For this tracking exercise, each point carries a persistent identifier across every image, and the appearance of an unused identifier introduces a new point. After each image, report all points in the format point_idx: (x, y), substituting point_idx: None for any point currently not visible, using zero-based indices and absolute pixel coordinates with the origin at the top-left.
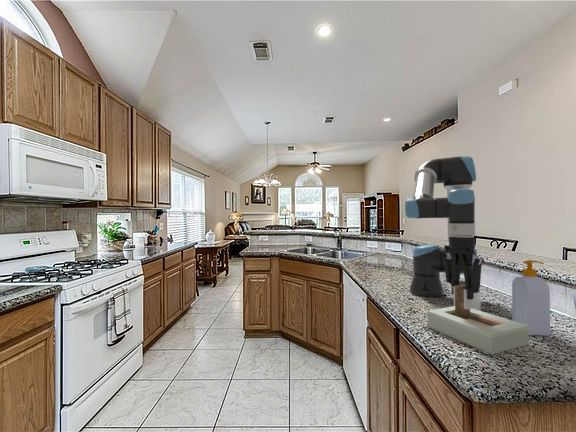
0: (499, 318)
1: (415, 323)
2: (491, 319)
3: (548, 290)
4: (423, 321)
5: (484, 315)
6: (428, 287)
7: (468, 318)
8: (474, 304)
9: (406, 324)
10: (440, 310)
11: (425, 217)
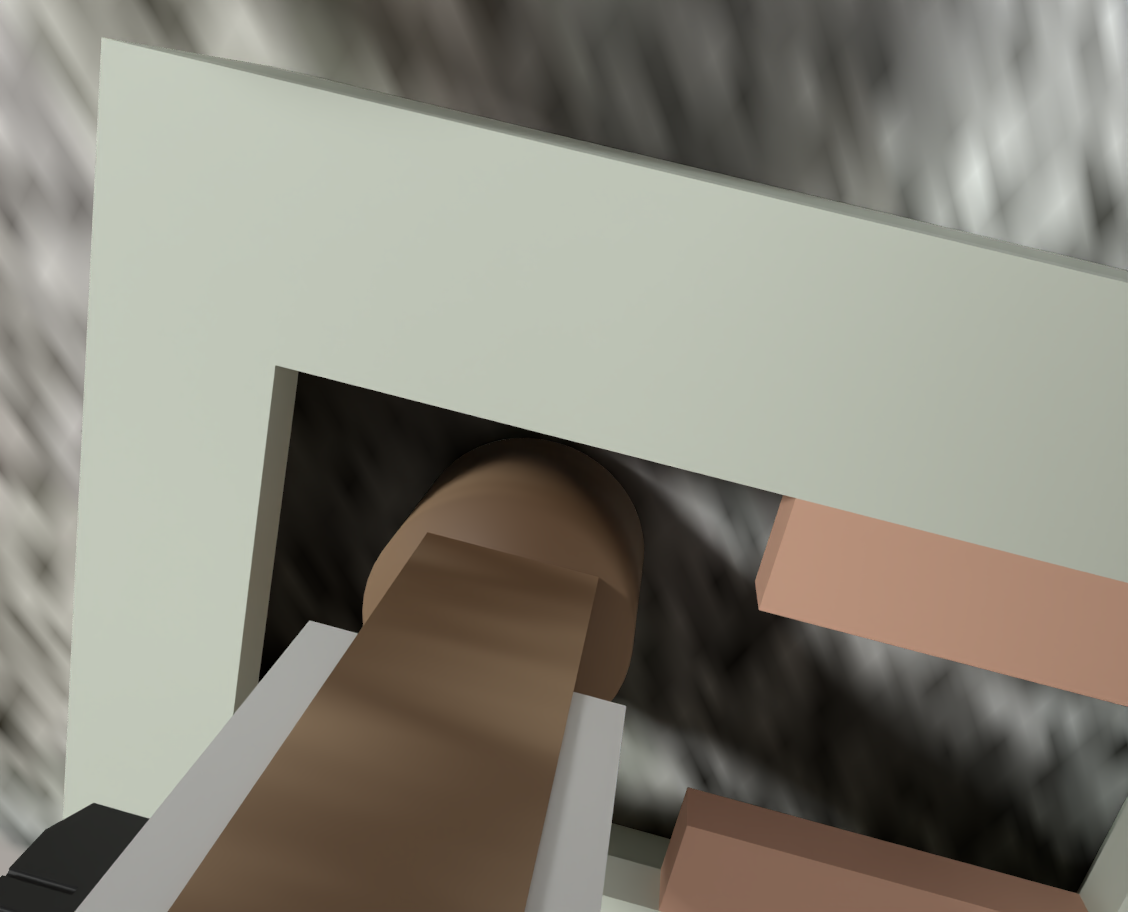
0: (1114, 403)
1: (44, 744)
2: (1001, 598)
3: None
4: (35, 603)
5: (810, 442)
6: None
7: (590, 615)
8: None
9: (21, 846)
10: (150, 756)
11: None
